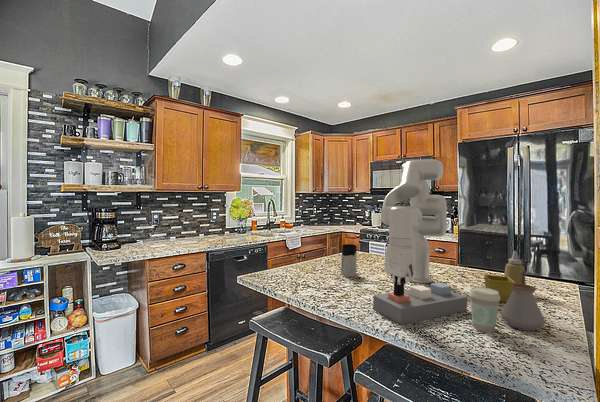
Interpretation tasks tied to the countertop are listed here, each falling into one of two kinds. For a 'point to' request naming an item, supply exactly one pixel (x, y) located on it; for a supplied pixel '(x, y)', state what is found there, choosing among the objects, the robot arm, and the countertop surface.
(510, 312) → the coffee pot
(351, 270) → the glass holder
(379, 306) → the console
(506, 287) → the flower pot
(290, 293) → the countertop surface
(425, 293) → the key white
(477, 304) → the coffee cup
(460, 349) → the countertop surface
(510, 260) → the squeeze bottle
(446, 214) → the robot arm
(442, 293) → the key blue
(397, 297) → the key red
